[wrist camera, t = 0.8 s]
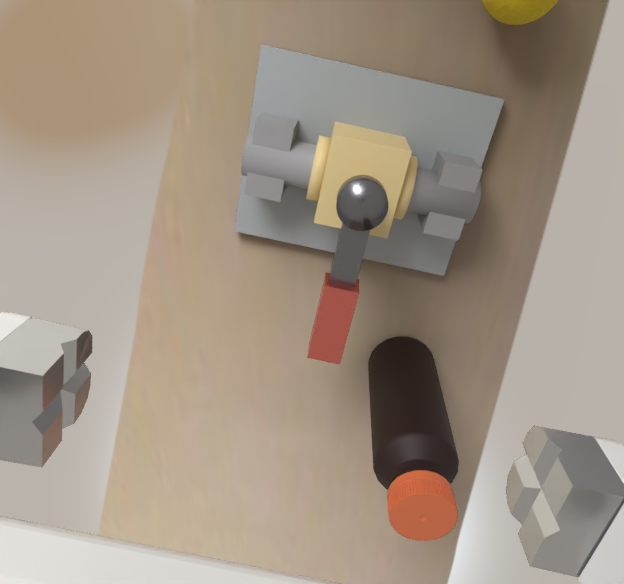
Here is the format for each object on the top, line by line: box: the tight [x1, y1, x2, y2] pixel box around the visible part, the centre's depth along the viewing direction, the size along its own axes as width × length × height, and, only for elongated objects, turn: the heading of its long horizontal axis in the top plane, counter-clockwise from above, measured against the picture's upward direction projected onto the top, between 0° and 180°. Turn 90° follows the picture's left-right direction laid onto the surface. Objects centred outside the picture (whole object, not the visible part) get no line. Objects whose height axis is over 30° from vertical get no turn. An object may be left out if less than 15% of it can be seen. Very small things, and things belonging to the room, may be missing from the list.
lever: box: [307, 175, 388, 364], centre depth 41 cm, size 4×14×2 cm, turn 168°
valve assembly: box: [234, 45, 504, 276], centre depth 44 cm, size 20×16×10 cm
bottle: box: [369, 337, 459, 541], centre depth 48 cm, size 7×7×20 cm
